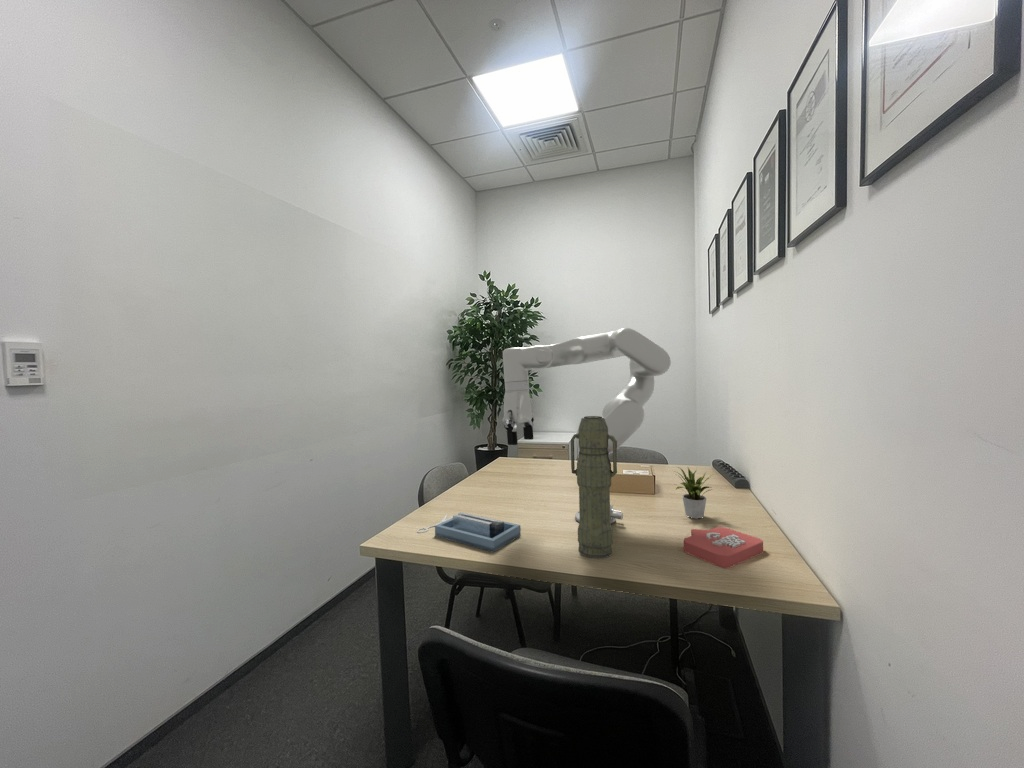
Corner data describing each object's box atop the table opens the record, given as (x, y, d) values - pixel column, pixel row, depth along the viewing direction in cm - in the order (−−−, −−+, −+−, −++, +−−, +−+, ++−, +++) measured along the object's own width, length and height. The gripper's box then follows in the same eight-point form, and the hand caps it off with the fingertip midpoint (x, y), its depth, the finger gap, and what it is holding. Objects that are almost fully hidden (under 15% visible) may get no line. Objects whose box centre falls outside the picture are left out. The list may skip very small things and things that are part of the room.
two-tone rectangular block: (504, 535, 111) (503, 521, 111) (496, 540, 108) (496, 525, 108) (461, 525, 120) (460, 511, 120) (453, 528, 117) (452, 515, 117)
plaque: (711, 520, 113) (766, 538, 100) (711, 534, 113) (766, 553, 100) (670, 533, 104) (725, 554, 91) (670, 548, 104) (725, 571, 91)
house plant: (657, 512, 131) (656, 463, 131) (687, 506, 137) (686, 459, 137) (693, 526, 118) (692, 472, 118) (724, 518, 124) (723, 467, 124)
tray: (520, 535, 113) (520, 525, 113) (493, 552, 102) (493, 540, 102) (464, 522, 125) (464, 512, 125) (435, 535, 114) (434, 525, 114)
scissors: (412, 533, 116) (438, 511, 135) (412, 536, 116) (438, 513, 135) (446, 535, 114) (468, 512, 133) (446, 538, 114) (468, 514, 133)
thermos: (620, 560, 97) (617, 418, 96) (571, 556, 99) (569, 418, 99) (618, 545, 105) (615, 415, 105) (573, 542, 108) (571, 415, 108)
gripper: (520, 386, 131) (524, 437, 132) (491, 389, 117) (495, 446, 117) (540, 385, 127) (544, 437, 128) (512, 388, 113) (516, 447, 113)
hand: (521, 441), depth 122 cm, fingers open, 9 cm apart
